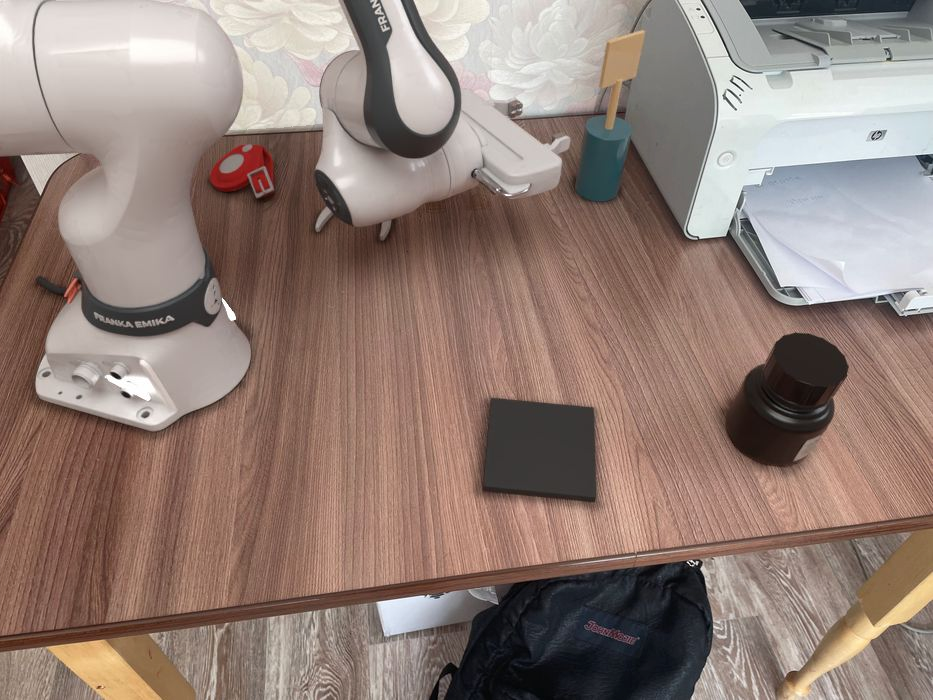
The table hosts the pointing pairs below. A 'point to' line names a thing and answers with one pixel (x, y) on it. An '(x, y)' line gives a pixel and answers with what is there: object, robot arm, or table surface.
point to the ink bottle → (787, 400)
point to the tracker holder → (245, 170)
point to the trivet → (541, 450)
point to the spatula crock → (609, 124)
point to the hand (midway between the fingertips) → (542, 122)
